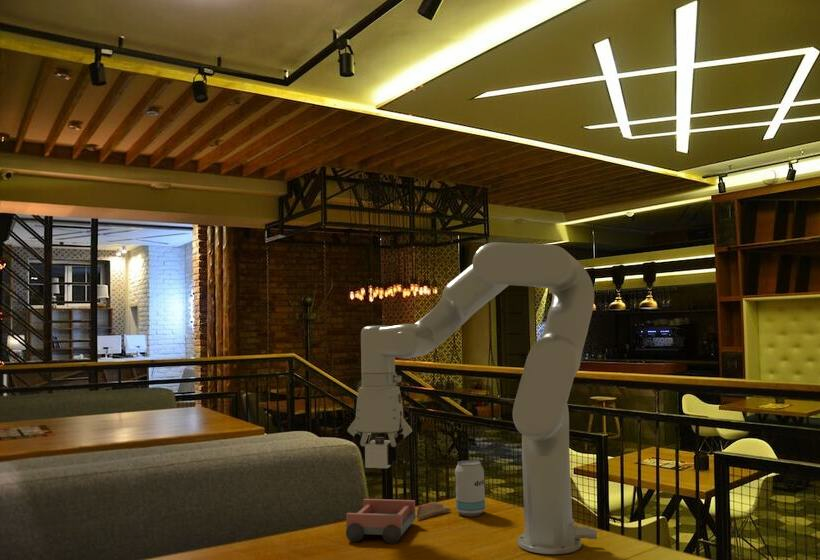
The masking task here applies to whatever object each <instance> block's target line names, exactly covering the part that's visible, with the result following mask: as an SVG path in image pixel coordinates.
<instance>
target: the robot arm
mask: <svg viewBox="0 0 820 560" xmlns="http://www.w3.org/2000/svg"><path fill="white" fill-rule="evenodd" d="M509 286H519V287H521V286H522V287H537V288H546V289H548V290H550V292H551V297H552V298H551V303H550V307H549V310H548V312H547V317H546V322H545V325H544V328H543V330H542V335H541V337H540V339H539V340H537V341H536V342H535V343H534V344H533V345H532V347H531V348H530V350H529V351H528V355H527V356H526V360H525V363H524V366H523V371H522V375H521V378H520V381H519V384H518V389H517V391H516V396H515V400H514V403H513V407H512V420H513V424H514V426H515V428H516V429H517V431H518V433H520V434H521V461H522V462H521V463H522V464H521V465H522V468H521V469H522V491H523V492H522V493H523V511H524V513H523V515H524V518H523V519H524V532H523V533H521V534H520V535H518V537H517V545H518V547H520V548H521V549H523V550H525V551H528V552H530V553H535V554H540V555H564V554H569V553H574V552H577V551H578V550H580V549H581V548H582V539H588V540H597V539H598V537H597V529H596V528H590V526H578V524H575V519H574V518H573V506H572V503H573V502H572V482H571V480H572V479H571V459H570V458H571V457H570V412H569V405H568V402H569V397H570V394H571V393H570V392H571V390H572V385H573V383H574V379H575V377H576V375H577V374H578V371H579V370H580V367H581V361H582V355H583V349H584V347H585V343H586V340H587V339H586V338H587V335H588V331H589V326H590V323H591V319H592V316H593V315H592V314H593V309H594V305H595V290H594V285H593V281H592V279H591V276H590V275H589V273H588V271H587V270H586V269H585V268H584V266H583V265H582V264H581V262H579V261H578V260H577V259H576V258H575V257H574V256H572V254H570V253H569V252H568V251H567V250H566V249H565V248H564V247H561V246H559V245H556V244H548V243H546V244H545V243H521V242H519V243H517V242H501V241H499V242H498V241H493V242H488V243H486V244H484V245H482V246H480V247H479V248H478V249H477V250H476V251H475V253H474V255H473V258H472V263H471V264H470V265H469V266H468V267H467V268H465V269H464V270H463V271H462V272H461V273H460V274H458V275H457V276H456V277H454V279H452V280H450V281H449V282H448V283H447V284H446V285H445V287H444V288H443V290H442V293H441V294H442V295H441V296H440V297H441V298H440V299H439V301H438V302H437V303H436V305H435V306H434V307H433V308H431V310H430V311H429V312H428V313H426V314H425V315H424V316H422V318H420V319H419V320H418V321H417V322H415V323H403V324H402V323H399V324H397V325H390V326H389V325H367V326H364V327H363V328H361V331H360V353H361V355H360V357H361V359H360V361H361V363H360V364H361V365H360V368H361V386H360V387H359V388H358V390H357V391H358V392H357V399H356V407H355V418H354V420H353V421H352V422H351V424H350V425H349V427H347V433H349V434H350V435H351V436H353V438H354V439H355V440H356V441H357V442H358V443H359V445H360V446H361V451H362V453H361V456H362V461H363V463H364V465H365V444H366V443H368V442H370V439H371V435H372V434H387V436H388V440H390V443H391V444H390V447H389V465H391V466H394V465H395V464H396V462H398V460H399V459H398V457H399V454H398V445H400V443H401V442H402V441H403V440H404V439H405V438H406V437H407V436H409V435H410V434H411V433H412V432H413V428H412V427H411V426H410V425H409V423H408V422H407V421H406V419H405V418H404V411H403V401H402V395H401V390H400V386H396V385H397V383H400V382H402V379H403V378H402V375H398V374H397V372H396V358H397V359H398V358H399V359H413V358H419V357H424V356H426V355H428V354H430V353H431V352H433V351H434V350H435V349H436V348H437V347H439V346H440V345H441V344H442V343H444V342H445V341H446V340H448V339H449V338H450V337H451V336H452V335H453V334H454V333H455V332H457V330H459V329H460V328H461V326H463V325H464V324H465V323H466V322H467V321H468V320H469V319H470V318H471V317H472V316H473V315H474V314H476V312H477V311H479V310H481V308H483V307H484V306H485V305H486V304H487V303H489V302H490V301H492V300H493V299H494V298H496V296H497V295H499V294H500V293H502V291H503V290H505V289H506V288H508V287H509ZM400 430H403V431H401V432H400V433H399V434H398V431H400Z"/></svg>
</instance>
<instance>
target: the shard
mask: <svg viewBox="0 0 820 560" xmlns="http://www.w3.org/2000/svg"><path fill="white" fill-rule="evenodd" d="M419 506H420V507H419ZM451 511H452V510H451V508H450V507H448V506H447V505H445V504H443V503H440V502H436V501H432V502H428V503H424V504H420V505H418V506H417V510H416V518H417V521H421V519H422V520H425V519H428V518H431V516H432V517H434V515H435V516H438V515H437V514H439V515H442V514H441V513H443V514H446V513H447V512H448V513H450V512H451ZM427 517H428V518H427ZM424 518H425V519H424Z"/></svg>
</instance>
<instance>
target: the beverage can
mask: <svg viewBox="0 0 820 560" xmlns="http://www.w3.org/2000/svg"><path fill="white" fill-rule="evenodd" d="M481 463H482V462H481V461H479V460H473V459H472V460H469V459H468V460H461V461H457V465H456V467H455V468H454V476H455V477H454V480H455V505H456V506H455V507H456V508H455V509H456V511H457V512H458V513H460V515H461V516H463V515H464V516H463V517H478V516H480V515H482V513H484V512H485V511H486V495H485V494H486V492H485V469H484V467H483V466H482V464H481Z"/></svg>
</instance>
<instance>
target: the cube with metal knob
mask: <svg viewBox="0 0 820 560" xmlns="http://www.w3.org/2000/svg"><path fill="white" fill-rule="evenodd" d="M390 444H391V443H390V440H389V439H385V437H384V436H377V437H375V438H374V439H372V440H369V442H368V443H366V444H365V464H364V466H365V467H364V468H365V469H366V468H367V469H388V468H390V467H391V466H392V465H389V447H390Z"/></svg>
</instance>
